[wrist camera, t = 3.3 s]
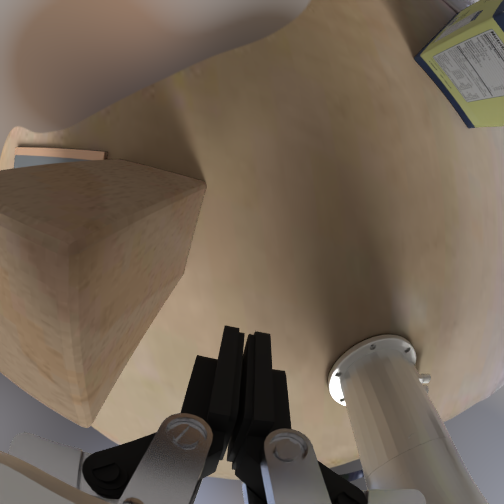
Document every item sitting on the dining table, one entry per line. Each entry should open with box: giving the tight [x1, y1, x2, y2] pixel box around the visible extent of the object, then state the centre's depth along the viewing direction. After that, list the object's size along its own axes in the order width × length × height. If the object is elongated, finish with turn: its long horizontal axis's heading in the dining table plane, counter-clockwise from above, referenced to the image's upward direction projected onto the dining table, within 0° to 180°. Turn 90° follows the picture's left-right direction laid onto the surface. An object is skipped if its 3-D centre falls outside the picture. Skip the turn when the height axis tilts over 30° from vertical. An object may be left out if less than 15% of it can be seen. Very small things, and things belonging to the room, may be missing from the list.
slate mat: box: [14, 147, 108, 168], centre depth 25 cm, size 16×12×1 cm
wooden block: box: [0, 159, 206, 428], centre depth 17 cm, size 10×10×20 cm
